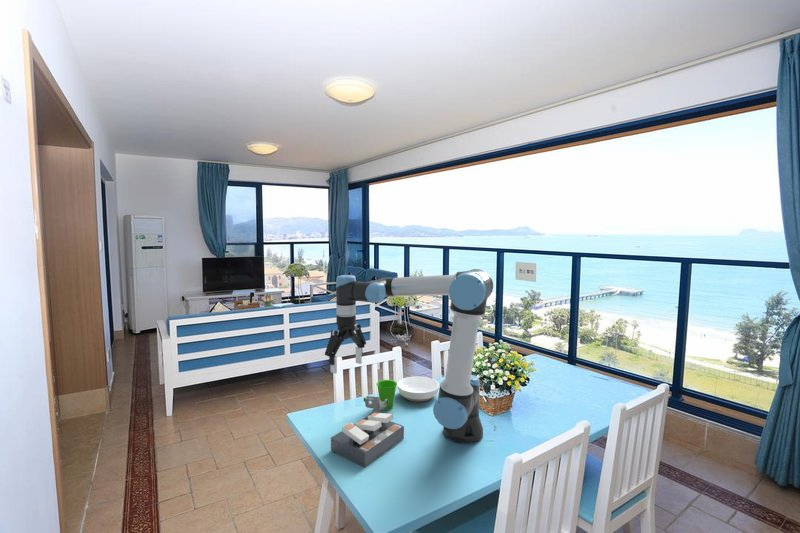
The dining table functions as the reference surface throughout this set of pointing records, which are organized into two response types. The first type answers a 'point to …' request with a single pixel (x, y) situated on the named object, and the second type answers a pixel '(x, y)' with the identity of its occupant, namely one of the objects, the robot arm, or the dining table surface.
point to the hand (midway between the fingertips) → (346, 367)
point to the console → (368, 443)
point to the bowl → (418, 388)
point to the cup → (387, 392)
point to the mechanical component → (375, 403)
